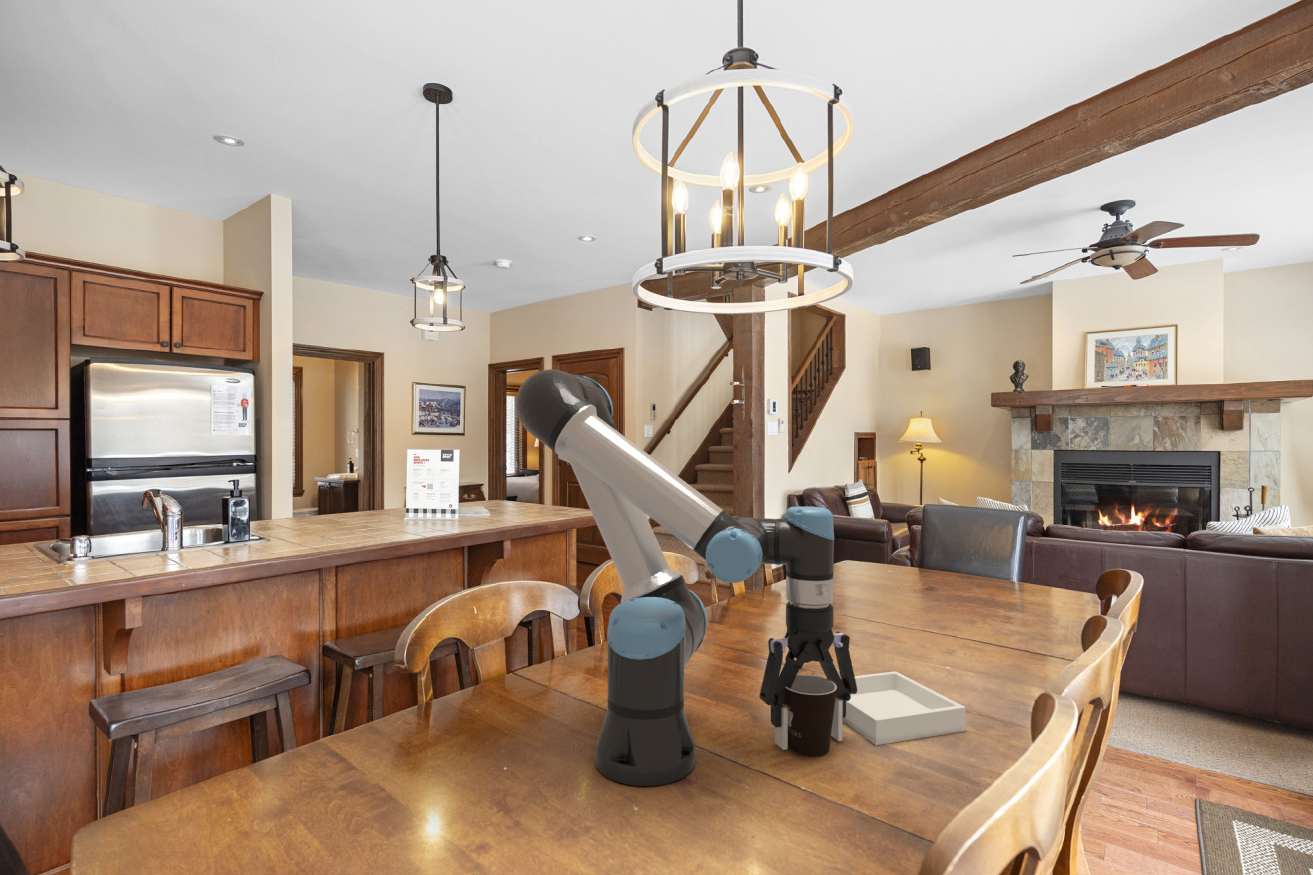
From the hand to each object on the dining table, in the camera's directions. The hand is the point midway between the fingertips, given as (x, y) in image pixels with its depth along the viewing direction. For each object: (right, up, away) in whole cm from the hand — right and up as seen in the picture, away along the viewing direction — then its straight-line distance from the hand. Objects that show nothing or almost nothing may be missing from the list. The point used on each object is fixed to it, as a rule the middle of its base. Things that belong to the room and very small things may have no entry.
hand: (808, 741), depth 104 cm
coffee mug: (0, 0, 0) cm, 0 cm away
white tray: (+16, 0, +11) cm, 20 cm away
